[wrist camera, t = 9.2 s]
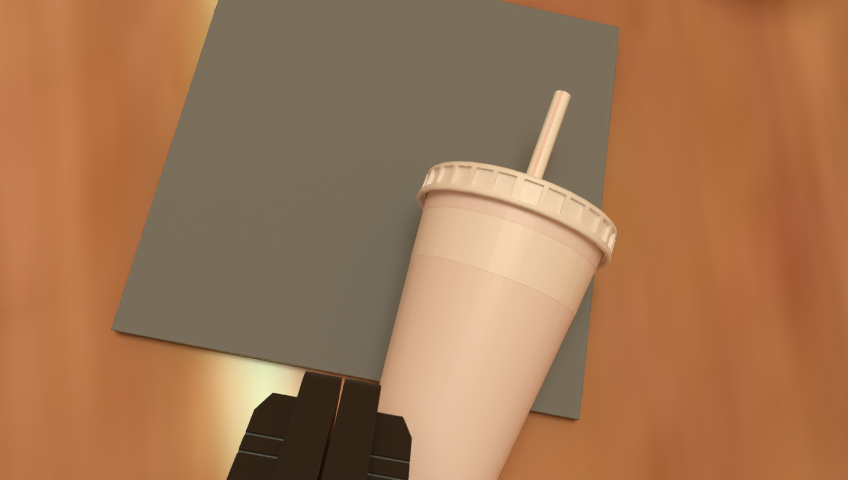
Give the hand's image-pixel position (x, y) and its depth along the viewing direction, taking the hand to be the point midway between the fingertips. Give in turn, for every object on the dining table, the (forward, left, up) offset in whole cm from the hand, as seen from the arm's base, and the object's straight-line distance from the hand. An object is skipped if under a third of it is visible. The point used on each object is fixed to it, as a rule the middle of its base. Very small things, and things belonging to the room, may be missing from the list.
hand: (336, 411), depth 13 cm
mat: (+6, +7, -10) cm, 14 cm away
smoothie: (+1, -3, -7) cm, 8 cm away
